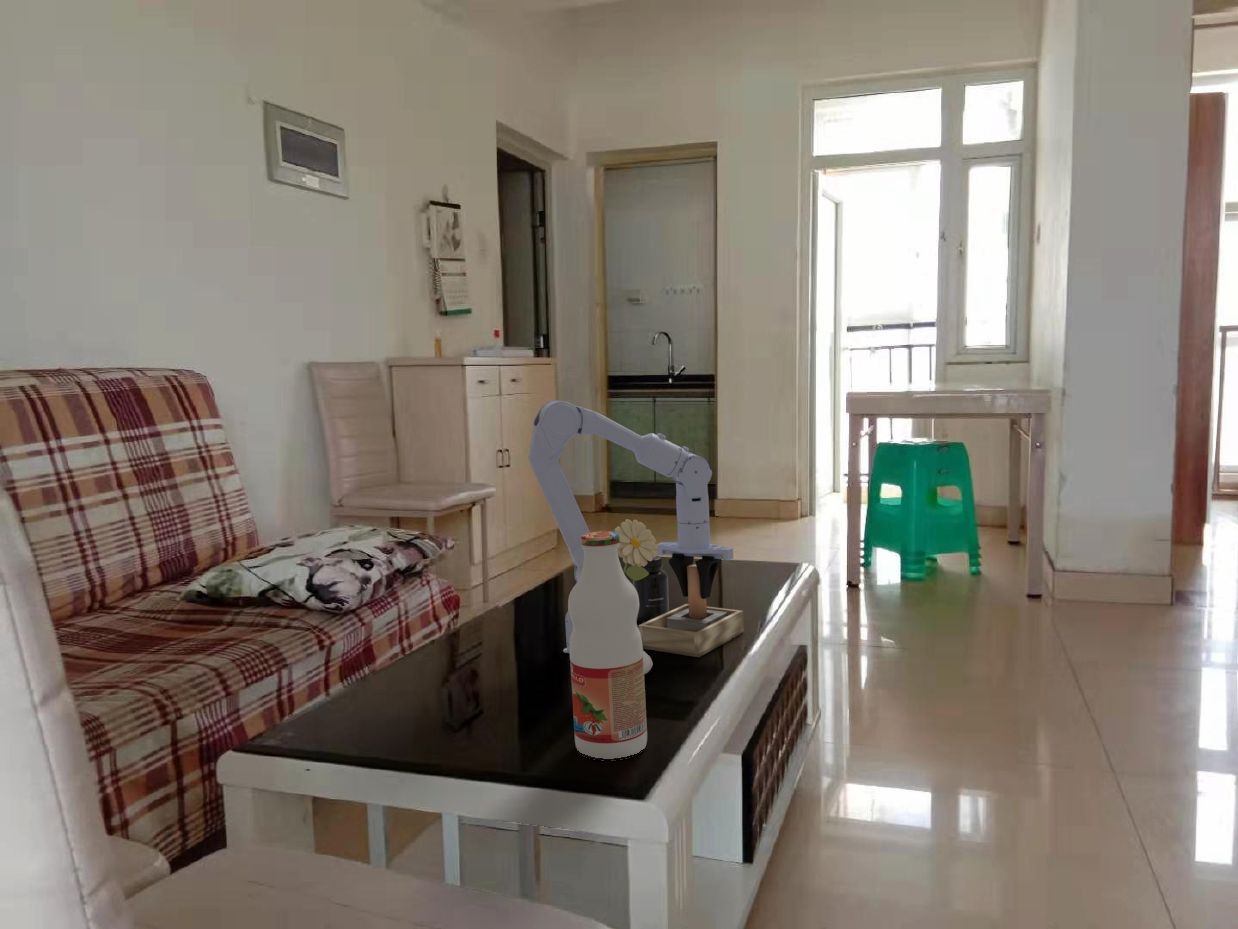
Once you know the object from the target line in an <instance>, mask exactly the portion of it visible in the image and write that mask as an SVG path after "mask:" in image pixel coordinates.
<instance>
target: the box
mask: <svg viewBox="0 0 1238 929" xmlns="http://www.w3.org/2000/svg"><path fill="white" fill-rule="evenodd" d="M706 606H707V616H706V617H703V618H691V617H689V604H688V603H684V604H682V605H680V606H678V607H676V608H674V609H672V610H669V612H667V613H665V614H663V615H660V616H658V617H656V618H654V619H652V620H649V621H647V622H642V623H641V624H639V625H638V624H637V627H638V629H639V631H640V634H641V638H642V645H643V650H644V649H645V650H651V651H657V652H662V653H663V652H664V653H671V654H676V655H681V656H689V657H695V658H700V657H702V656H704V655H706V654H708V653H710V652H711V651H713V650H715V649H716V648H718V647H720V646H722V645H724V644H725V643H728V642H730V641H731V640H733V639H735V638H736V637H738V636H740V635H741V633H742V634H744V633H745V632H744V631H745V630H744V610H739V609H731V608H723V607H716V606H708V605H706ZM743 632H744V633H743ZM732 638H733V639H732Z"/></svg>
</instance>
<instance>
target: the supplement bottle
mask: <svg viewBox="0 0 1238 929" xmlns="http://www.w3.org/2000/svg"><path fill="white" fill-rule="evenodd" d="M663 566H664V565H663V558H662V556H659V555H656V557H653V560H652V561H648V560H647V565H645V566H641V567H643V568H644V569H645V570H646V571H647V572H648V573H649V575H647V576H646V577H644V578H643V579H640V580H637V581H636V580H633V579H632V585H633V586H634V587H635V589H636V591H637V593H638V596H639V612H638V616H637V621H638V622H642V623H645V622H647V621H649V620H652V619H654V618H656V617H658V616H660V615H663V614H665V613H667V612H669V611H670V604H669V601H670V600H669V598H670V597H669V576H668V573H667V572H666V571H665V570H664V569H662V568H663Z"/></svg>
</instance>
